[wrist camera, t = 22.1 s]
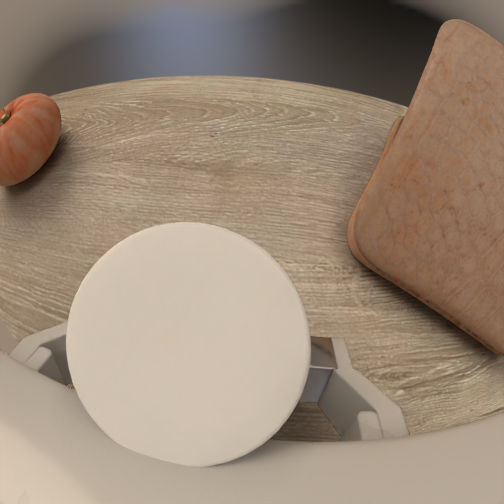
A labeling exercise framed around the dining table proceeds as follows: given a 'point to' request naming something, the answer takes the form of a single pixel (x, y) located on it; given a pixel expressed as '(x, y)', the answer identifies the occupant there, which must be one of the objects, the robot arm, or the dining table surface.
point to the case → (444, 189)
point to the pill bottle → (188, 344)
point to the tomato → (27, 136)
